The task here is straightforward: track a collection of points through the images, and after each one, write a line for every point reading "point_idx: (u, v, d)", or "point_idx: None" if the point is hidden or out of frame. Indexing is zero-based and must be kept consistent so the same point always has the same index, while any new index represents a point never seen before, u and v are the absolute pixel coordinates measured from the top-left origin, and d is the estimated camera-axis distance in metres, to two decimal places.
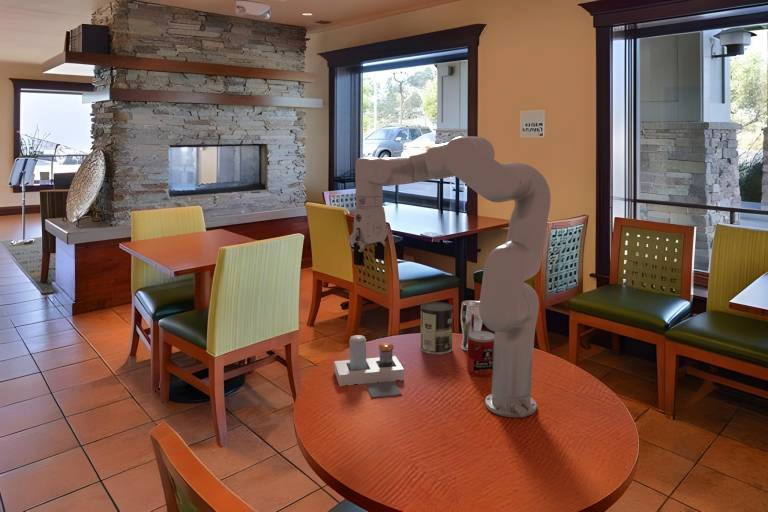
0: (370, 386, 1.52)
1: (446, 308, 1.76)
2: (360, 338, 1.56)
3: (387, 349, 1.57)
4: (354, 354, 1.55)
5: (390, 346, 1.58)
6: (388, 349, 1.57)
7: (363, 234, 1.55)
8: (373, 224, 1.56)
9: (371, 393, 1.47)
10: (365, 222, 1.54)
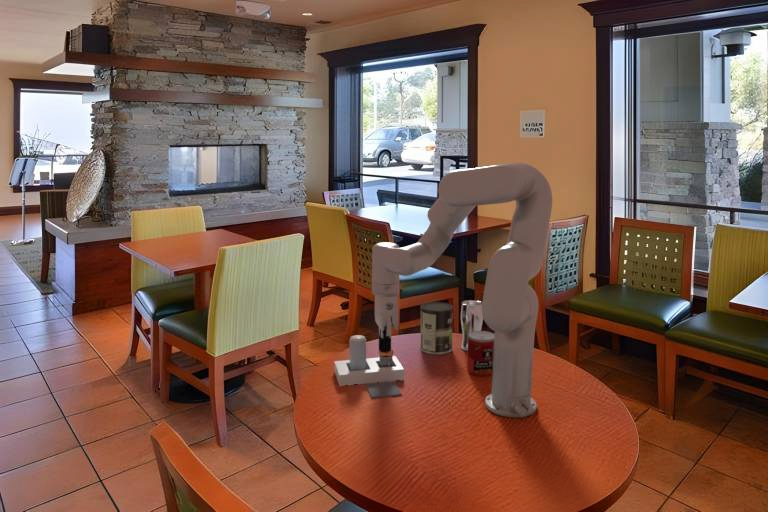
0: (370, 386, 1.52)
1: (446, 308, 1.76)
2: (360, 338, 1.56)
3: (387, 354, 1.57)
4: (354, 354, 1.55)
5: (390, 351, 1.58)
6: (388, 354, 1.57)
7: (395, 321, 1.53)
8: None
9: (371, 393, 1.47)
10: (397, 309, 1.53)
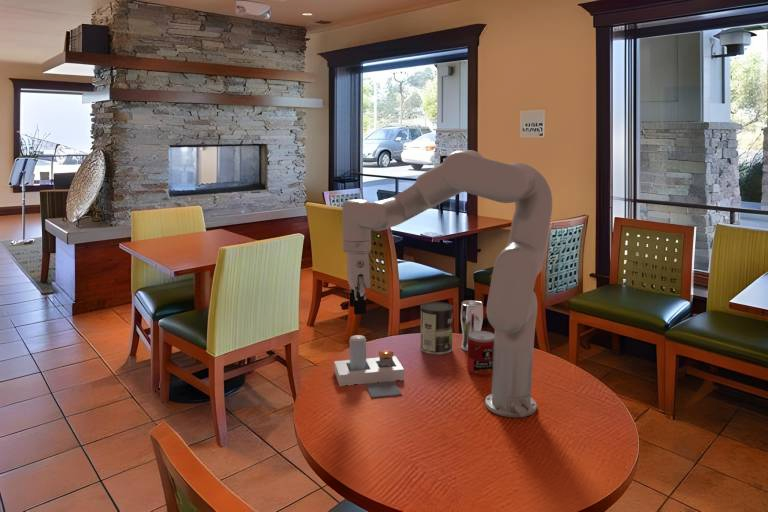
0: (370, 386, 1.52)
1: (446, 308, 1.76)
2: (360, 338, 1.56)
3: (387, 356, 1.57)
4: (354, 354, 1.55)
5: (390, 353, 1.58)
6: (388, 356, 1.57)
7: (367, 280, 1.48)
8: None
9: (371, 393, 1.47)
10: (368, 267, 1.48)
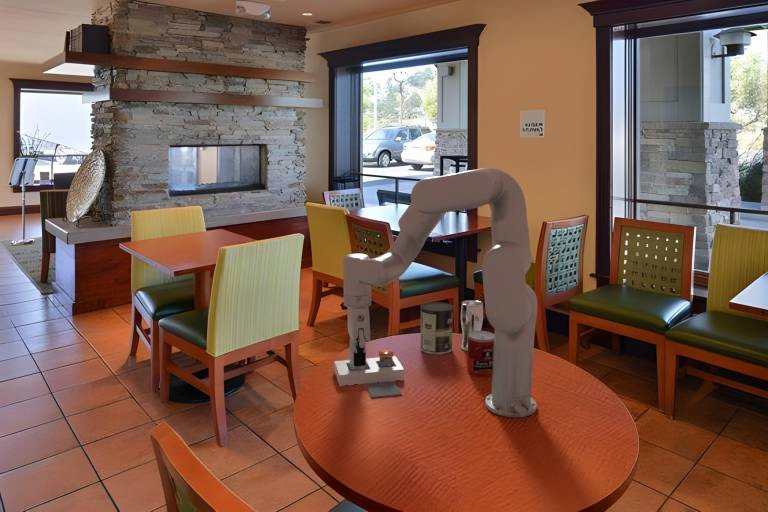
0: (370, 386, 1.52)
1: (446, 308, 1.76)
2: None
3: (387, 356, 1.57)
4: None
5: (390, 353, 1.58)
6: (388, 356, 1.57)
7: (367, 333, 1.51)
8: None
9: (371, 393, 1.47)
10: (368, 321, 1.51)
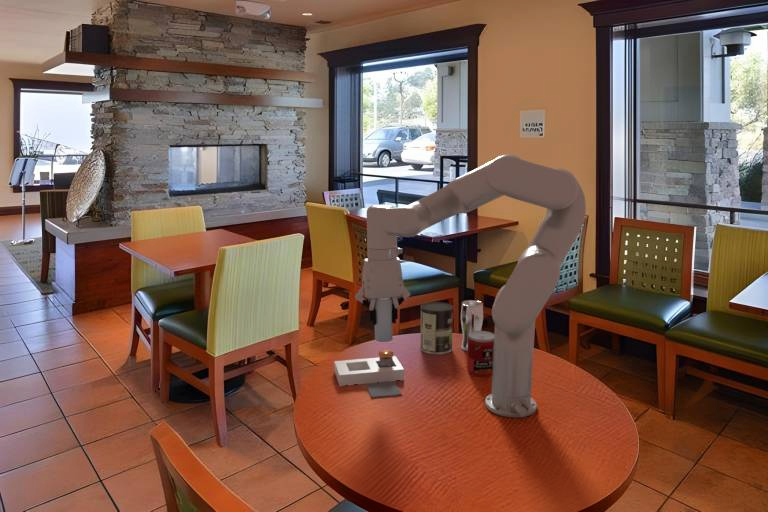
0: (370, 386, 1.52)
1: (446, 308, 1.76)
2: None
3: (387, 356, 1.57)
4: (391, 312, 1.45)
5: (390, 353, 1.58)
6: (388, 356, 1.57)
7: None
8: None
9: (371, 393, 1.47)
10: None
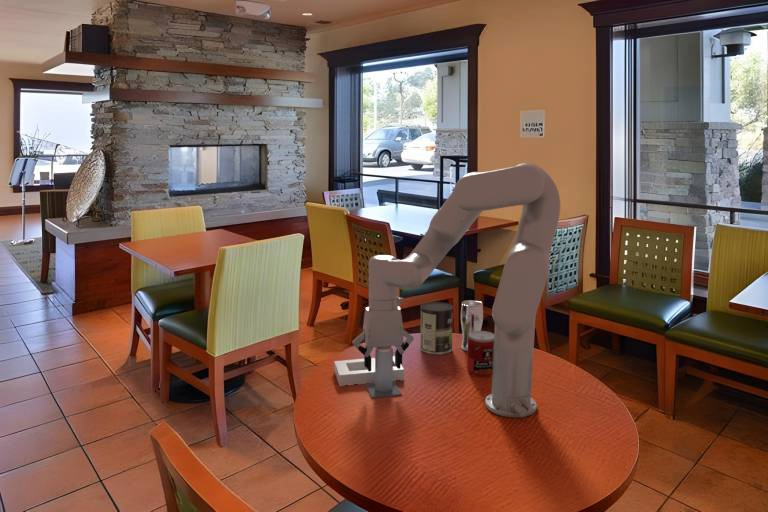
0: (370, 386, 1.52)
1: (446, 308, 1.76)
2: None
3: None
4: (392, 364, 1.48)
5: None
6: None
7: None
8: None
9: (371, 393, 1.47)
10: None
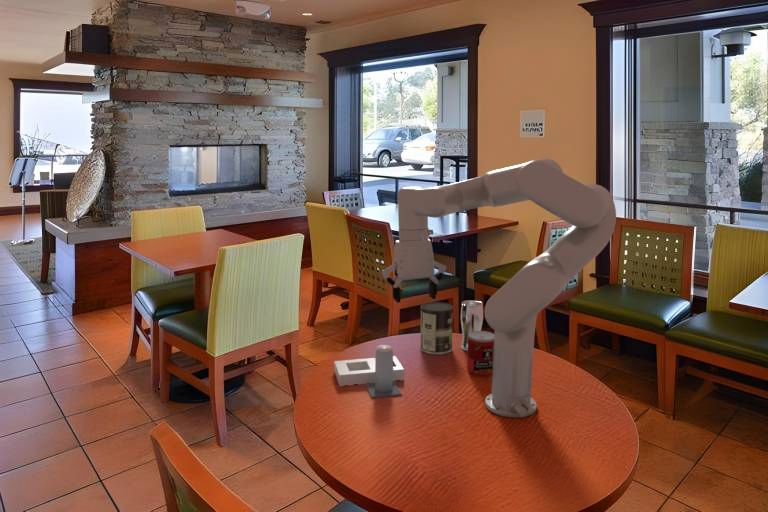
0: (370, 386, 1.52)
1: (446, 308, 1.76)
2: (386, 346, 1.49)
3: None
4: (392, 364, 1.48)
5: None
6: None
7: None
8: None
9: (371, 393, 1.47)
10: None
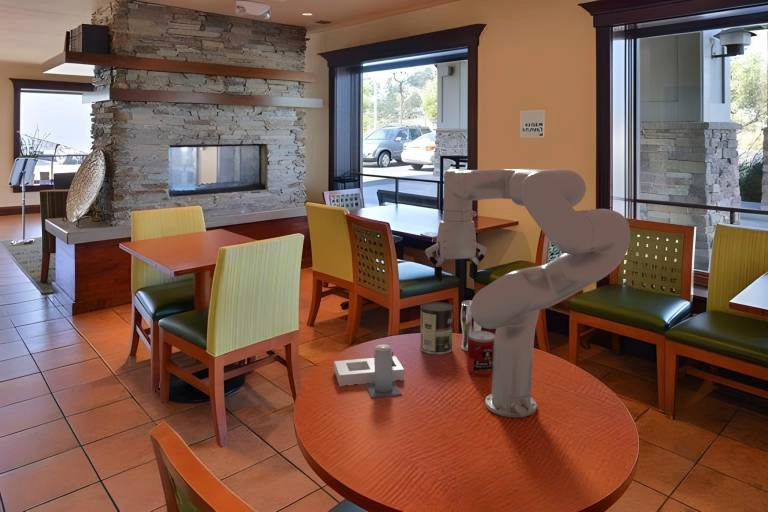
0: (370, 386, 1.52)
1: (446, 308, 1.76)
2: (385, 346, 1.49)
3: None
4: (391, 363, 1.48)
5: None
6: None
7: None
8: None
9: (371, 393, 1.47)
10: None
